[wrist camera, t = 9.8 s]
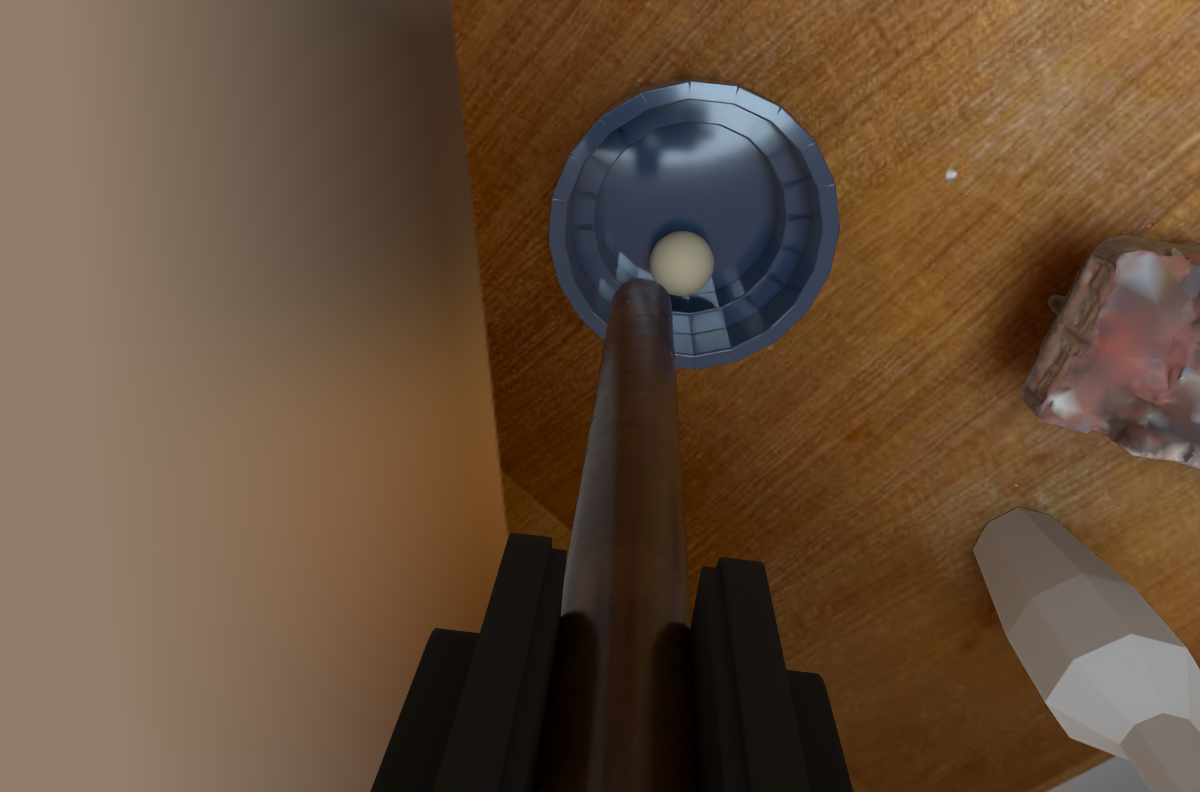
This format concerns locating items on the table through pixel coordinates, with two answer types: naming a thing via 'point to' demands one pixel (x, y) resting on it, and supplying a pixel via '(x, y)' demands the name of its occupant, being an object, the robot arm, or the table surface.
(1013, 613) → the faceted bottle
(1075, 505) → the table surface
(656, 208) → the blue round container
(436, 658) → the robot arm
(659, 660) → the stick
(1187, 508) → the table surface
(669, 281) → the dough ball
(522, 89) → the table surface
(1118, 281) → the decorative box
